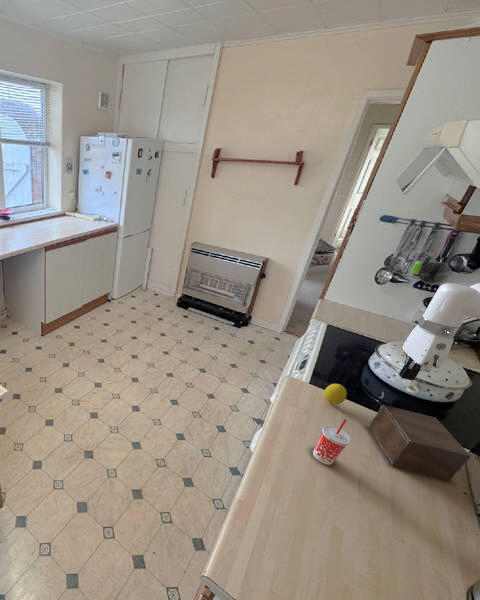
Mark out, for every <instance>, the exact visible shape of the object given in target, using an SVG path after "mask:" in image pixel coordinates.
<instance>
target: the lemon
mask: <svg viewBox="0 0 480 600" xmlns="http://www.w3.org/2000/svg"><path fill="white" fill-rule="evenodd" d="M347 395H348V392H347V389H346V388H345V386H344V385H342V384H340V383H331V384H329V385H328V386H326V388H325V389H324V393H323V396H324V399H325V400H326V401H327V402H328V403H329V404H330V405H340V404H342V403H343V402H345V401H346V399H347Z"/></svg>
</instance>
